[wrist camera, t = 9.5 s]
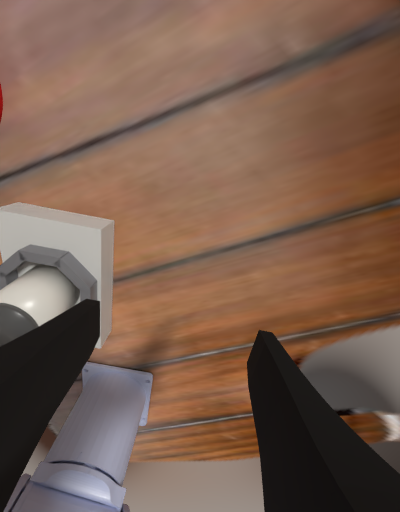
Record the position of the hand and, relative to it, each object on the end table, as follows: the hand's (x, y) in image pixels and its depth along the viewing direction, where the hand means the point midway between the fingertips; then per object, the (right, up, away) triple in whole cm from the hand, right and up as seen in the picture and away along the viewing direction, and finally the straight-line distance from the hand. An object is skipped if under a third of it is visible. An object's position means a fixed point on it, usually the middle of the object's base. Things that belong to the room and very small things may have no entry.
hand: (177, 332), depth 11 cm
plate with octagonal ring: (-11, +2, +11) cm, 16 cm away
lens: (-11, +1, +9) cm, 14 cm away
